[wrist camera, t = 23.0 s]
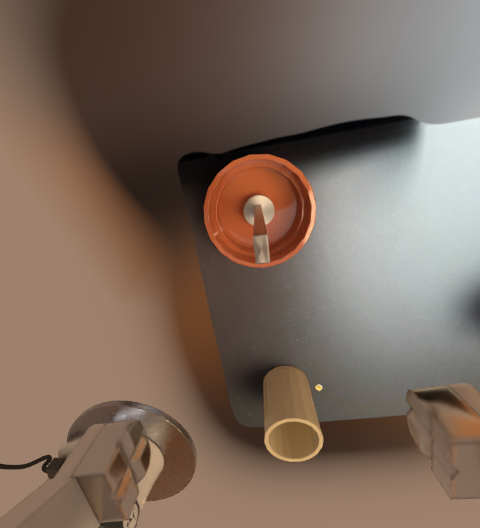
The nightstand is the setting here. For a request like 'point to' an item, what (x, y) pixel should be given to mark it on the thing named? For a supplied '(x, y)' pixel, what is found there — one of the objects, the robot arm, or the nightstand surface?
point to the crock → (290, 415)
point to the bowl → (272, 186)
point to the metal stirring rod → (259, 224)
